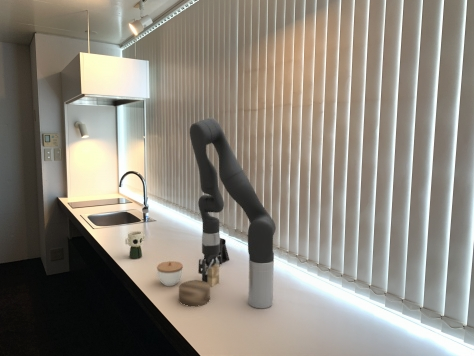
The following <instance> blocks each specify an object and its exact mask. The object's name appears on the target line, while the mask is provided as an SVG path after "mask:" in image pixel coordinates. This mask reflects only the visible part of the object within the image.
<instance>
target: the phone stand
mask: <svg viewBox="0 0 474 356" xmlns="http://www.w3.org/2000/svg"><path fill="white" fill-rule="evenodd" d="M220 251H221V252H222V264H224V263H226V262H229V261H230V257H229V252H228V249H227V244H226V239H225V238H221V237H220ZM219 261H220V259H219Z"/></svg>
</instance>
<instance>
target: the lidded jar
mask: <svg viewBox="0 0 474 356" xmlns="http://www.w3.org/2000/svg"><path fill="white" fill-rule="evenodd" d="M183 267H184V266H183V263H181V262H179V261H171V260H169V261H165V262H161V263H159V264H157V266H156V271H157V277H158V280H159V281H160V282H161V283H162V285H163V286H166V287H172V286H176V285H177V284H178V282H180V281H181V280H182V279H181V278H182V276H183Z"/></svg>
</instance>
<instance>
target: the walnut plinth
mask: <svg viewBox="0 0 474 356" xmlns="http://www.w3.org/2000/svg"><path fill="white" fill-rule="evenodd" d="M209 300H210V301H211V287H210V284H209V283H207V282H205V281H202V280H199V279H198V280H197V279H195V280H194V279H193V280H187V281H185V282H182V283H181V284H180V285H179V286H178V301H180V302H181V303H182V304H181V303H180V302H179V303H180V304H181V305H183V304H185V305H188V306H187V307H191V306H195V307H199V306H198V305H201V306H204V305H206V304H208V303H209V302H210V301H209ZM207 302H208V303H207ZM205 303H206V304H205ZM203 304H204V305H203ZM185 305H184V306H185Z"/></svg>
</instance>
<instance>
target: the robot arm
mask: <svg viewBox="0 0 474 356" xmlns="http://www.w3.org/2000/svg"><path fill="white" fill-rule="evenodd" d="M189 136H190V142H191V146H192V149H193V154H194V156H195V161H196V163H197V166H198V172H199V173H198V174H199V183H200V189H201V192H202V193H204V195H201V196H199V199H198V203H197V205H198V210H199V212H200V216H201V221H202V235H201V253H202V254H203V258H202V259H201V258H200V259H198V271H197V272H198V274H201V281H205V282H208V274H207V273H208V270H209V269H210V268H211V266H212V265H215V264H217V265H219V268H220V267H221V266H222V265H223V263H222V252H221V251H220V238H221V236H220V235H221V234H220V219H219V218H218V217H215V216H212V215H211V214H210V213H217V214H218V213H222V211H223V210H224V207H225V202H224V199H223V196H222V193H221V190H220V188H219V180H220V182H221V183H222V185H223V186H224V188H225V190H226V192H227V193H228V195H229V196H230V197H231V198H232V199H233V200H234V201H235V202H236V203H237V204H238V205H239V206H240V207H241V209H242V210H243V212H244V213H245V216H246V217H247V218H248V221H249V223H250V224H249V226H248V231H247V253H248V298H247V299H248V301H247V302H248V305H249V306H251V307H252V308H256V309H267V308H270V307H271V306H272V305H274V303H273V301H274V269H275V268H274V265H275V263H274V262H275V260H274V259H275V258H274V257H275V253H274V235H275V232H276V223H275V220H274V219H273V218H272V216H271V215H270V213H268V211H267V209H266V208H265V207H264V205H263V204H262V202H261V201H260V199H259V196H258V195H257V193H256V191H255V189H254V187H253V185H252V183H251V182H250V179H249V178H248V176H247V174H246V172H245V170H244V169H243V168H242V166H241V165H240V163H239V161H238V159H237V157H236V155H235V153H234V151H233V150H232V148H231V146H230V143H229V141H228V139H227V137H226V134H225V132H224V129H223V128H222V126H221V124H220V123H219V122H218V120H216V119H215V118H214V117H207V118H204V119H202V120H199V121H196V122H194V123H193V124H191V125H190V127H189ZM211 144H212V145H213V146H214V148H215V151H216V153H217V156H218V171H217V169H216V167H215V166H214V164H213V163H212V162H211V160H210V158H209V156H208V155H207V154H208V153H207V146H208V145H211ZM218 175H219V178H218ZM218 179H219V180H218ZM205 194H206V195H205ZM219 259H220V261H219ZM205 265H207V266H208V267H207V266H205ZM205 269H206V271H205Z"/></svg>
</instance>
